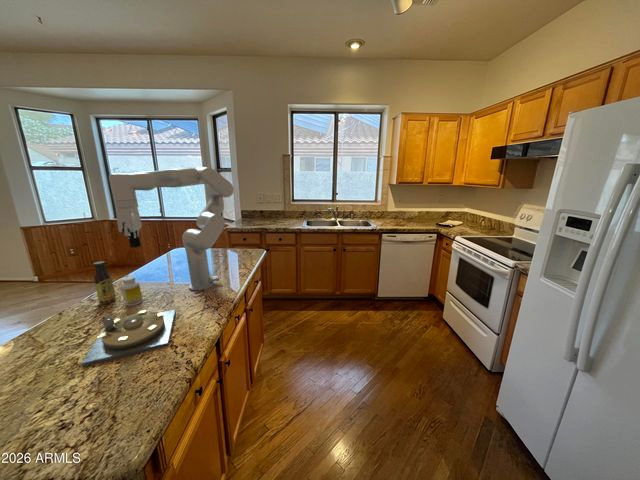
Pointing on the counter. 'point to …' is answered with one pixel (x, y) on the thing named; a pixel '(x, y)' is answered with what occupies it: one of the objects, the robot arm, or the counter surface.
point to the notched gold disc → (131, 329)
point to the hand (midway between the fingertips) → (135, 246)
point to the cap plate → (104, 354)
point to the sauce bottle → (103, 284)
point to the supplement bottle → (131, 291)
